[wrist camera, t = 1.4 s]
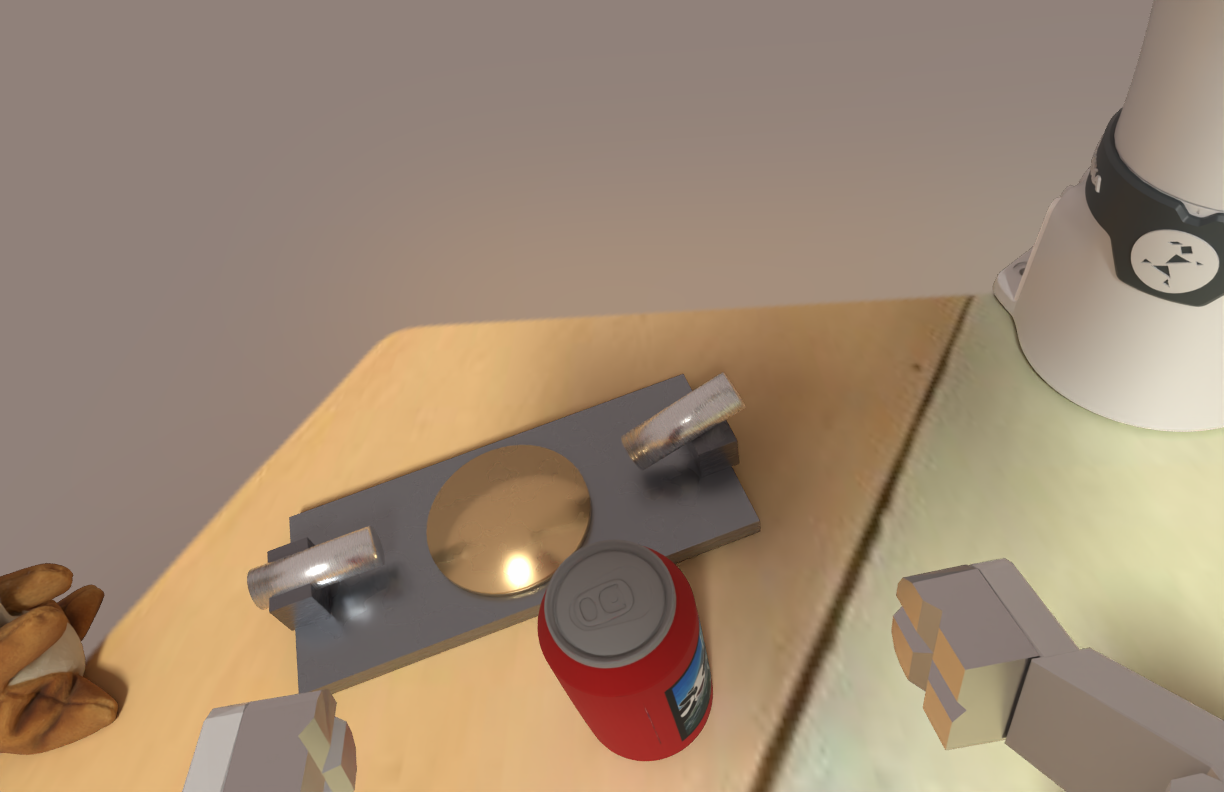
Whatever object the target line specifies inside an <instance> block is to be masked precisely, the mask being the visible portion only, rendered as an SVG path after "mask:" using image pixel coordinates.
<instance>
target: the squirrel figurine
mask: <svg viewBox="0 0 1224 792" xmlns="http://www.w3.org/2000/svg"><path fill="white" fill-rule="evenodd" d="M72 577H73V573H72V572H71V571H70V570H69V569H68V568H66V567H64V566H61V565H57V564H50V563H45V564H39V565H35V566H31V567H28V568H24V569H21V570H19V571H16V572H13V573H10V574H6V575H3V576H1V577H0V753H11V754H24V755H29V754H36V753H42V752H46V751H49V750H53V749H55V748H59V747H62V746H64V745H67V744H70V743H73V742H75V741H78V740H80V739H82V738H84V737H87V736H88V735H91V734H93V733H95V732H97V731H98V730H100V729H101V728H103V727H106V726H108V725H110V724H111V723H112V722H113V721H115V719H116V714H117V710H118V704H117V702H116V701H115V700H114V699H113V698H112V697H111V696H110V695H109V694H108V693H106V692H105V691H104V690H103V689H101V688H100V687H98V686H97V685H96V684H94V683H93V682H91V681H89V680H88V679H86V678H84V677H83V675H84V672H85V655H84V651H83V646H82V643H81V641H82V640H83V638H84V637H85V635H86V634H87V632H88V630H89V628H90V626H91V624H92V622H93V620H94V617H95V616H96V614H97V612H98V610H99V607H100V605H101V603H102V601H103V598H104V592H103V591H102V590H101V589H99V588H97V587H96V586H94V585H87V586H84V587H82V588H80V589H78V590H76V591H74V592H73V593H71V594H70V595H68V596H67V597H65V598H64V599H62V600H61V601H59V602H58V603H56V602H55V601H54V600H52V599H53V598H55V597H57V596H59V595H61V594H63V593H65V592H66V591H67V590H69V588H70V587H71V584H72Z"/></svg>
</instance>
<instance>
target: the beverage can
mask: <svg viewBox="0 0 1224 792" xmlns="http://www.w3.org/2000/svg"><path fill="white" fill-rule="evenodd" d="M538 637H539V642H540V646H541V649H542V652H543V654H544V657H545V659H546V661H547V662H548V664H549V665H550V667H551V669H552V670H553V672H554V674H555V675H556V677H557V679H558V680H559V682H560V683H561V685H562V687H563V688H564V690H565V691H566V693H567V695H568V696H569V698H570V699H571V701H572V702H573V704H574V705H575V707H576V708H577V710H578V711H579V713H580V714H581V716H582V717H583V719H584V720H585V722H586V723H587V725H588V726H589V727H590V729H591V730H592V732H593V733H594V734H595V736H596V737H597V738H598V740H599V741H600V742H601V743H602V744H603V745H604V746H606V747H607V748H608V749H609V750H611V751H613V752H614V753H616V754H618V755H620V756H622V757H625V758H628V759H632V760H637V761H655V760H660V759H664V758H667V757H670V756H672V755H674V754H676V753H678V752H680V751H681V750H683V749H684V748H686V747H687V746H688V745H689V744H690V743H691V742H693V740H694V739H695V738H696V737H697V736H698V735H699V733H700V732H701V730H702V729H703V727H704V725H705V723H706V721H707V719H708V717H709V714H710V710H711V706H712V699H713V686H712V679H711V673H710V668H709V662H708V658H707V653H706V648H705V643H704V638H703V634H702V629H701V625H700V620H699V616H698V612H697V608H696V604H695V600H694V596H693V593H692V590H691V587H690V585H689V583H688V581H687V579H686V578H685V576H684V574H683V573H682V572H681V571H680V569H679V568H678V567H677V566H676V565H675V564H674V563H673V562H672V561H671V560H669V559H668V558H667V557H665V556H664V555H662V554H660V553H659V552H657V551H655V550H653V549H650V548H648V547H645V546H642V545H640V544H637V543H634V542H631V541H626V540H603V541H598V542H595V543H592V544H589V545H586V546H584V547H582V548H580V549H579V550H577V551H575V552H574V553H573V554H571V555H570V556H569V557H568V558H566V559H565V560H564V561H563V562H562V563H561V565H560V566H559V567H558V568H557V570H556V571H555V573H554V574H553V576H552V578H551V580H550V582H549V585H548V587H547V589H546V591H545V594H544V596H543V599H542V602H541V605H540V609H539V614H538Z"/></svg>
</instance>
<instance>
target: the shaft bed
mask: <svg viewBox="0 0 1224 792" xmlns="http://www.w3.org/2000/svg"><path fill="white" fill-rule="evenodd" d="M744 408H745V404H744V402H743V401H742V399H741V397H740V395H739V394H738V392H737V391H736V389H735V387H734V386H733V384H732V383H731V381H730V380H729V379H728V377H727V376H726V375H725V373H724V372H722V373H720V374H719V375H717V376H716V377H714V378H712V379H711V380H709V381H708V382H706V383H704V384H703V385H701V386H700V387H698V388H697V389H695V390H693V391H692V390H691V388H690V386H689V384H688V382H687V380H686V378H685V376H684V374H682V375H679V376H676V377H674V378H671V379H668V380H665V381H663V382H660V383H657V384H654V385H652V386H649V387H646V388H643V389H641V390H638V391H635V392H632V393H630V394H627V395H624V396H621V397H619V398H616V399H613V400H610V401H608V402H605V403H602V404H599V405H597V406H594V407H591V408H588V409H586V410H583V411H580V412H577V413H575V414H572V415H569V416H566V417H564V418H561V419H558V420H555V421H553V422H550V423H547V424H544V425H542V426H539V427H536V428H533V429H531V430H528V431H525V432H522V433H520V434H517V435H514V436H511V437H509V438H506V439H503V440H500V441H498V442H495V443H492V444H489V445H487V446H484V447H481V448H479V449H476V450H473V451H470V452H468V453H465V454H462V455H459V456H457V457H454V458H451V459H448V460H446V461H443V462H440V463H437V464H435V465H432V466H429V467H426V468H424V469H421V470H418V471H415V472H413V473H410V474H407V475H404V476H402V477H399V478H396V479H393V480H391V481H388V482H385V483H382V484H380V485H377V486H374V487H371V488H369V489H366V490H363V491H360V492H358V493H355V494H352V495H349V496H347V497H344V498H341V499H338V500H336V501H333V502H330V503H327V504H325V505H322V506H319V507H316V508H314V509H311V510H308V511H305V512H303V513H300V514H297V515H294V516H292V517H289V520H290V539H291V543H290V544H287V545H284V546H281V547H279V548H276V549H273V550H270V551H268V552H267V553H268V563H267V564H264V565H261V566H259V567H256V568H253V569H251V570H250V571H249V572H248V576H247V583H248V589H249V592H250V595H251V597H252V600H253V601H254V603H255V604H256V606H257V607H258V608H260V609H262V610H264V609H267V608H269V612H270V613H271V614H272V615H273V616H275V617H276V618H277V619H278V620H279V621H281V622H282V623H283V624H284V625H286V626H287V627H288V628H289V629H290V630H292V631H293V630H295V632H296V650H297V669H298V687H299V694H301V693H307V692H313V691H319V690H325V689H329V691H330V692H331V694H333V693H336V692H339V691H341V690H344V689H347V688H349V687H352V686H354V685H357V684H360V683H362V682H365V681H368V680H370V679H373V678H375V677H378V676H381V675H383V674H386V673H389V672H391V671H394V670H396V669H399V668H402V667H404V666H407V665H410V664H412V663H415V662H417V661H420V660H423V659H425V658H428V657H431V656H433V655H436V654H439V653H441V652H444V651H446V650H449V649H452V648H454V647H457V646H460V645H462V644H465V643H467V642H470V641H473V640H475V639H478V638H481V637H483V636H486V635H488V634H491V633H494V632H496V631H499V630H502V629H504V628H507V627H509V626H512V625H515V624H517V623H520V622H523V621H525V620H528V619H530V618H533V617H536V616H538V614H539V609H540V605H541V602H542V599H543V596H544V594H545V591H546V589H547V587H548V585H549V582H550V580H551V578H552V576H553V574H554V573H555V571H556V570H557V568H558V567H559V566H560V565H561V563H562V562H563V561H564V560H565V559H566V558H568V557H569V556H570V555H571V554H573V553H574V552H575V551H577V550H579V549H580V548H582V547H584V546H586V545H589V544H592V543H595V542H598V541H603V540H626V541H631V542H634V543H637V544H640V545H642V546H645V547H648V548H650V549H653V550H655V551H657V552H659V553H660V554H662V555H664V556H665V557H667V558H668V559H669V560H671V561H672V562H673V563H674V564H675V563H678V562H680V561H683V560H686V559H688V558H691V557H693V556H696V555H699V554H701V553H704V552H707V551H709V550H712V549H714V548H717V547H720V546H722V545H725V544H728V543H730V542H733V541H735V540H738V539H741V538H743V537H746V536H749V535H751V534H754V533H756V532H759V531H760V520H759V518H758V516H757V515H756V513H755V511H754V509H753V507H752V505H751V503H750V501H749V499H748V497H747V495H746V493H745V492H744V490H743V488H742V486H741V484H740V482H739V480H738V478H737V476H736V474H735V472H734V470H733V468H732V466H734V465H737V464H739V455H738V444H737V439H736V437H735V435H734V434H733V432H732V430H731V428H730V426H729V424H728V423H727V421H726V419H727V418H729V417H731V416H732V415H734V414H736V413H737V412H739V411H740V410H742V409H744Z"/></svg>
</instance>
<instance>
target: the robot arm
mask: <svg viewBox="0 0 1224 792" xmlns="http://www.w3.org/2000/svg"><path fill="white" fill-rule="evenodd" d="M993 292H994V294H995V296H996V297H997V299H998V300H999V301H1000V303H1001V304H1002V305H1003V306H1004V307H1005V309H1006V310H1007V311H1008V312H1009V313H1010V314H1011V315H1012V317H1013V319H1014V321H1015V325H1016V329H1017V334H1018V338H1019V342H1020V345H1021V348H1022V350H1023V352H1024V354H1025V356H1026V358H1027V360H1028V361H1029V363H1030V364H1031V366H1032V367H1033V368H1034V369H1035V371H1036V372H1037V373H1038V374H1039V375H1040V376H1041V378H1043V379H1044V380H1045V381H1046V382H1047V383H1048V384H1049V385H1050V386H1051V387H1052V388H1054V389H1055V390H1056V391H1057V392H1059V393H1060V394H1061V395H1063V396H1064V397H1066V398H1067V399H1069V400H1071V401H1072V402H1074V403H1076V404H1077V405H1079V406H1081V407H1083V408H1085V409H1087V410H1089V411H1091V412H1093V413H1096V414H1098V415H1101V416H1103V417H1106V418H1109V419H1111V420H1114V421H1117V422H1121V423H1124V424H1128V425H1132V426H1136V427H1141V428H1147V429H1153V430H1162V431H1177V432H1190V431H1203V430H1211V429H1217V428H1222V427H1224V0H1154V1H1153V5H1152V9H1151V13H1150V18H1149V22H1148V26H1147V30H1146V34H1145V37H1144V41H1143V45H1142V48H1141V52H1140V56H1139V59H1138V63H1137V66H1136V69H1135V72H1134V75H1133V79H1132V82H1131V85H1130V88H1129V91H1128V94H1127V97H1126V100H1125V103H1124V106H1123V107H1122V108H1121V109H1120V110H1119V111H1118V112H1117V113H1116V114H1115V115H1114V116H1113V117H1112V118H1111V120H1110V122H1109V124H1108V126H1107V128H1106V130H1105V133H1104V134H1103V136H1102V138H1101V140H1100V142H1099V143H1098V144H1097V147H1096V149H1095V152H1094V155H1093V157H1092V161H1091V166H1090V167H1089V168H1088V170H1087V171H1086V172H1085V173H1084V175H1083V176H1082V178H1081V180H1080V181H1079V184H1077V185H1076V186H1072V185H1070V186H1068V187H1067V188H1066V189H1065V190H1064V191H1063V192H1062V194H1061V196H1060V198H1055V199H1054V200H1053V201H1052V203H1051V204H1050V206H1049V208H1048V210H1047V213H1046V215H1045V218H1044V220H1043V223H1042V226H1041V228H1040V231H1039V233H1038V236H1037V239H1036V241H1035V244H1034V246H1033V247H1032V248H1031V249H1029V250H1028V251H1027V252H1025V253H1024V254H1023V255H1021V256H1020V257H1019V258H1017V259H1016V260H1015V261H1014V262H1012V263H1011V264H1010V265H1008V266H1007V267H1006V268H1004V269H1003V270H1002V271H1001V272H1000V273H999V274H998V276H997V278H996V280H995V282H994V284H993ZM896 596H897V598H898V599H899V601H900V603H901V605H902V607H901V608H900V609H899V610H898V611H897V612H896V613H895V614H894V615H893V622H892V637H893V643H894V649H895V652H896V655H897V657H898V660H899V663H900V665H901V667H902V669H903V671H904V673H905V675H906V677H907V679H908V680H909V681H910V682H912V683H913V684H915V685H916V686H918V687H919V688H921V689H922V690H924V691H925V692H926V693H925V698H924V704H923V709H924V711H925V713H926V715H927V717H928V719H929V720H930V722H931V724H932V726H933V728H934V730H935V732H936V733H937V735H938V737H939V739H940V741H941V743H942V745H943V746H944V748H945V750H950V749H956V748H962V747H968V746H973V745H979V744H985V743H990V742H996V741H1002V740H1006V741H1005V744H1006V745H1008V746H1009V747H1010V748H1011V749H1013V750H1014V751H1015V752H1017V753H1018V754H1019V755H1020V756H1022V757H1023V758H1024V759H1025V760H1027V761H1028V762H1029V763H1031V764H1032V765H1033V766H1034V767H1036V768H1037V769H1038V770H1040V771H1041V772H1042V773H1043V774H1045V775H1046V776H1047V777H1048V778H1050V779H1051V780H1052V781H1054V782H1055V783H1056V784H1057V785H1059V786H1060V787H1061V788H1062V789H1064V790H1065V791H1066V792H1224V720H1222V719H1220V718H1218V717H1216V716H1214V715H1213V714H1211V713H1209V712H1207V711H1205V710H1203V709H1202V708H1200V707H1198V706H1196V705H1194V704H1192V703H1191V702H1189V701H1187V700H1185V699H1183V698H1181V697H1180V696H1178V695H1176V694H1174V693H1172V692H1170V691H1169V690H1167V689H1165V688H1163V687H1161V686H1159V685H1158V684H1156V683H1154V682H1152V681H1150V680H1148V679H1147V678H1145V677H1143V676H1141V675H1139V674H1137V673H1135V672H1134V671H1132V670H1130V669H1128V668H1126V667H1124V666H1123V665H1121V664H1119V663H1117V662H1115V661H1113V660H1112V659H1110V658H1108V657H1106V656H1104V655H1102V654H1101V653H1099V652H1097V651H1095V650H1093V649H1091V648H1085V649H1079V648H1078V647H1077V645H1076V644H1075V643H1074V641H1073V640H1072V639H1071V638H1070V636H1069V635H1068V634H1067V632H1066V631H1065V630H1064V629H1063V627H1062V626H1061V625H1060V623H1059V622H1058V621H1057V620H1056V618H1055V617H1054V616H1053V614H1052V613H1051V612H1050V611H1049V609H1048V608H1047V607H1046V605H1045V604H1044V603H1043V601H1042V600H1041V599H1040V598H1039V596H1038V595H1037V594H1036V592H1035V591H1034V590H1033V589H1032V587H1031V586H1030V585H1029V583H1028V582H1027V581H1026V580H1025V578H1024V577H1023V576H1022V574H1021V573H1020V572H1019V571H1018V569H1017V568H1016V567H1015V565H1014V564H1013V563H1012V562H1010V561H1009V560H1007V559H1005V558H1003V559H996V560H991V561H986V562H981V563H976V564H971V565H961V566H957V567H952V568H947V569H942V570H937V571H932V572H928V573H923V574H918V575H913V576H908V577H903V578H902V579H901V581H900V582H899V583H898V588H897V593H896ZM336 704H337V702H336V701H335V699H334V697H333V696H332V694H331V692H330V691H329V689H325V690H319V691H313V692H307V693H301V694H295V695H289V696H283V697H277V698H271V699H265V700H259V701H253V702H247V703H241V704H236V705H230V706H225V707H220V708H214V709H212V711H211V712H210V714H209V715H208V717H207V718H206V719H205V721H204V723H203V726H202V729H201V733H200V736H199V739H198V742H197V746H196V749H195V752H194V755H193V759H192V762H191V765H190V768H189V772H188V775H187V778H186V781H185V785H184V788H183V791H182V792H354V790H355V781H356V772H357V765H356V747H355V743H354V739H353V735H352V732H351V730H350V728H349V726H348V724H347V722H346V721H344V720H342V719H339V718H337V717H335V711H336Z"/></svg>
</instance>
